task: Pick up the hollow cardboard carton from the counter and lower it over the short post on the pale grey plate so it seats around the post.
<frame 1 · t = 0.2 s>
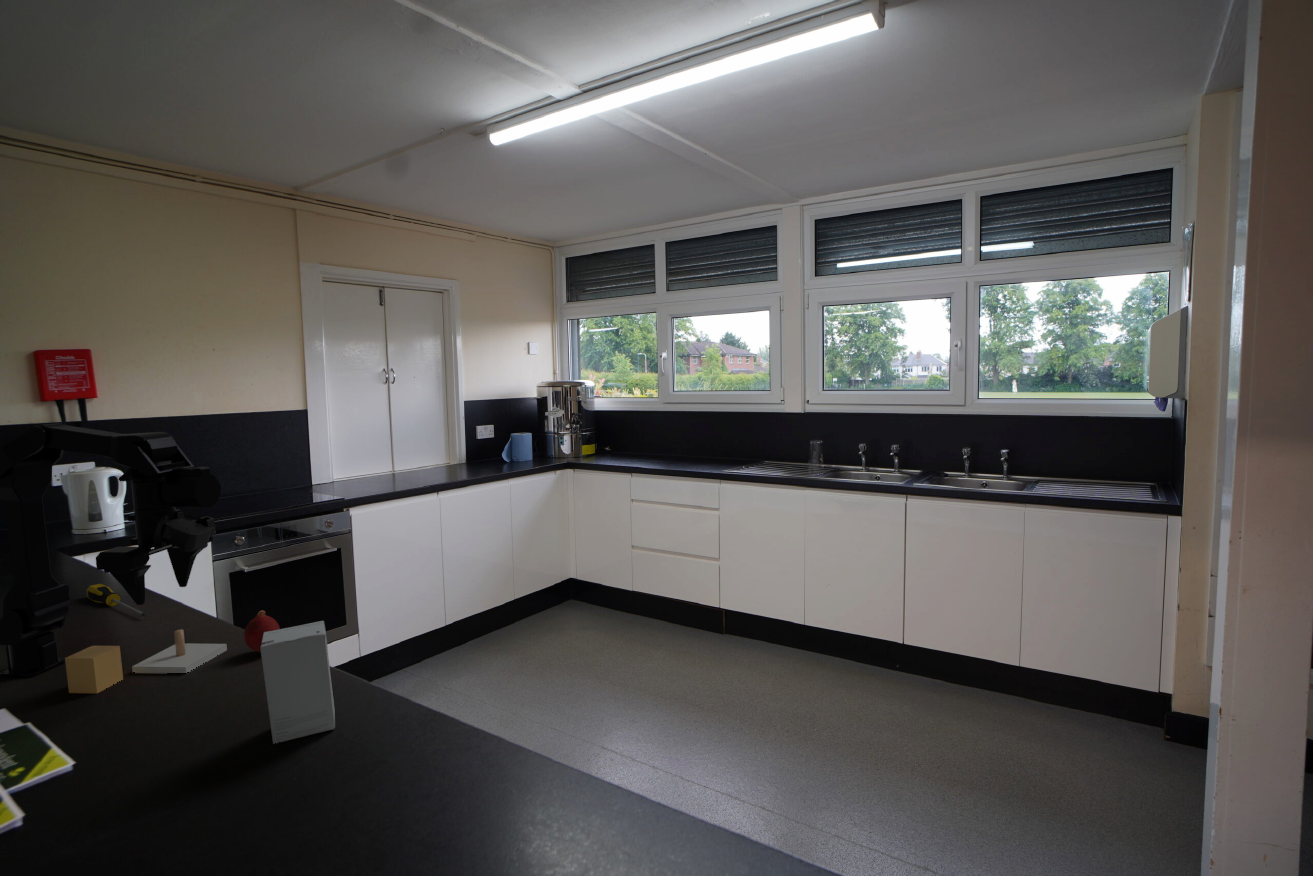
hand: (162, 595, 117), 14 cm above the countertop, tool pointing down, fingers open, 9 cm apart
screwdriver: (119, 609, 154), on the countertop
cardboard carton: (96, 686, 114), on the countertop
skincare box: (303, 730, 99), on the countertop
onion: (263, 653, 127), on the countertop
post plate: (181, 661, 124), on the countertop
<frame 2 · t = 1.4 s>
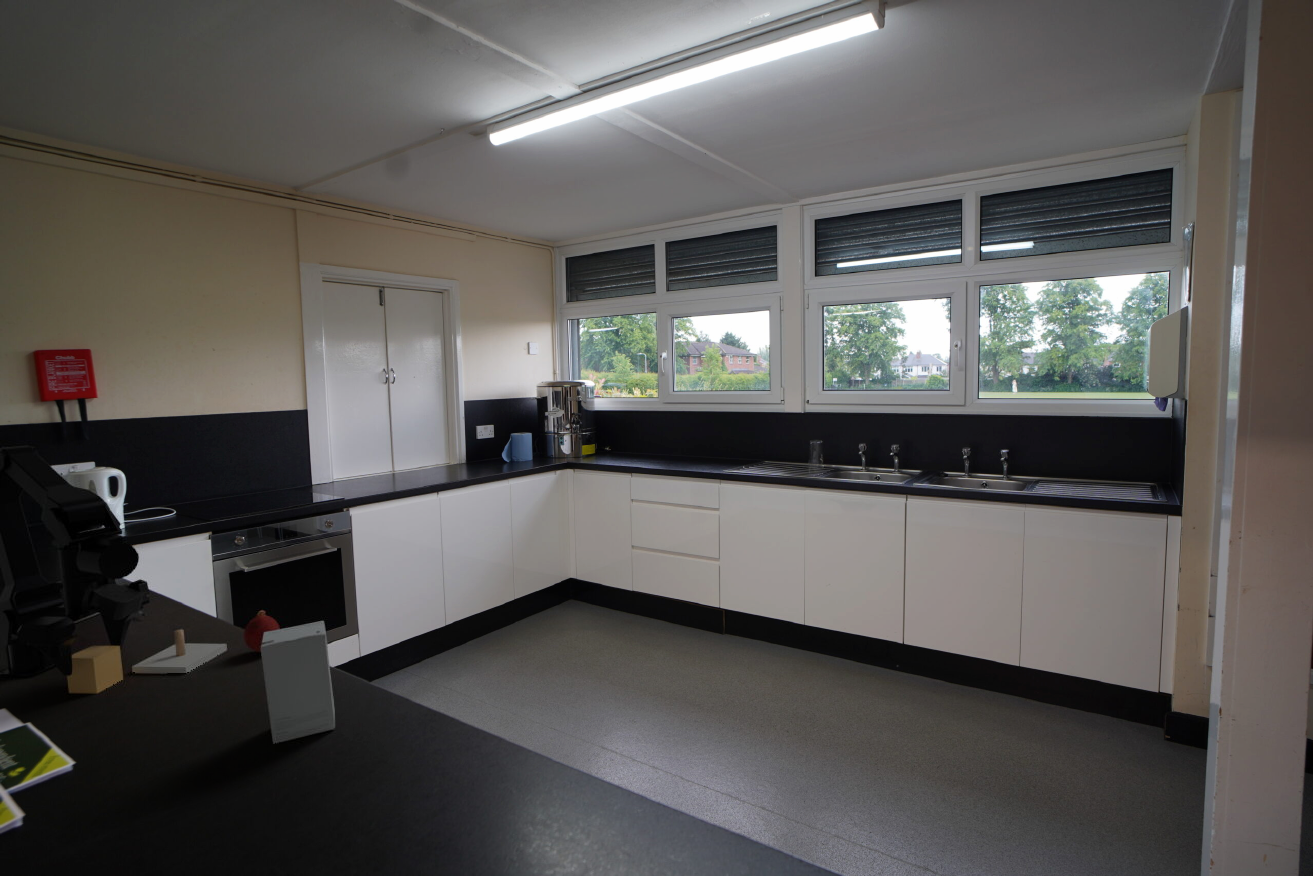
hand: (93, 663, 114), 4 cm above the countertop, tool pointing down, fingers open, 9 cm apart
nothing on the countertop moved.
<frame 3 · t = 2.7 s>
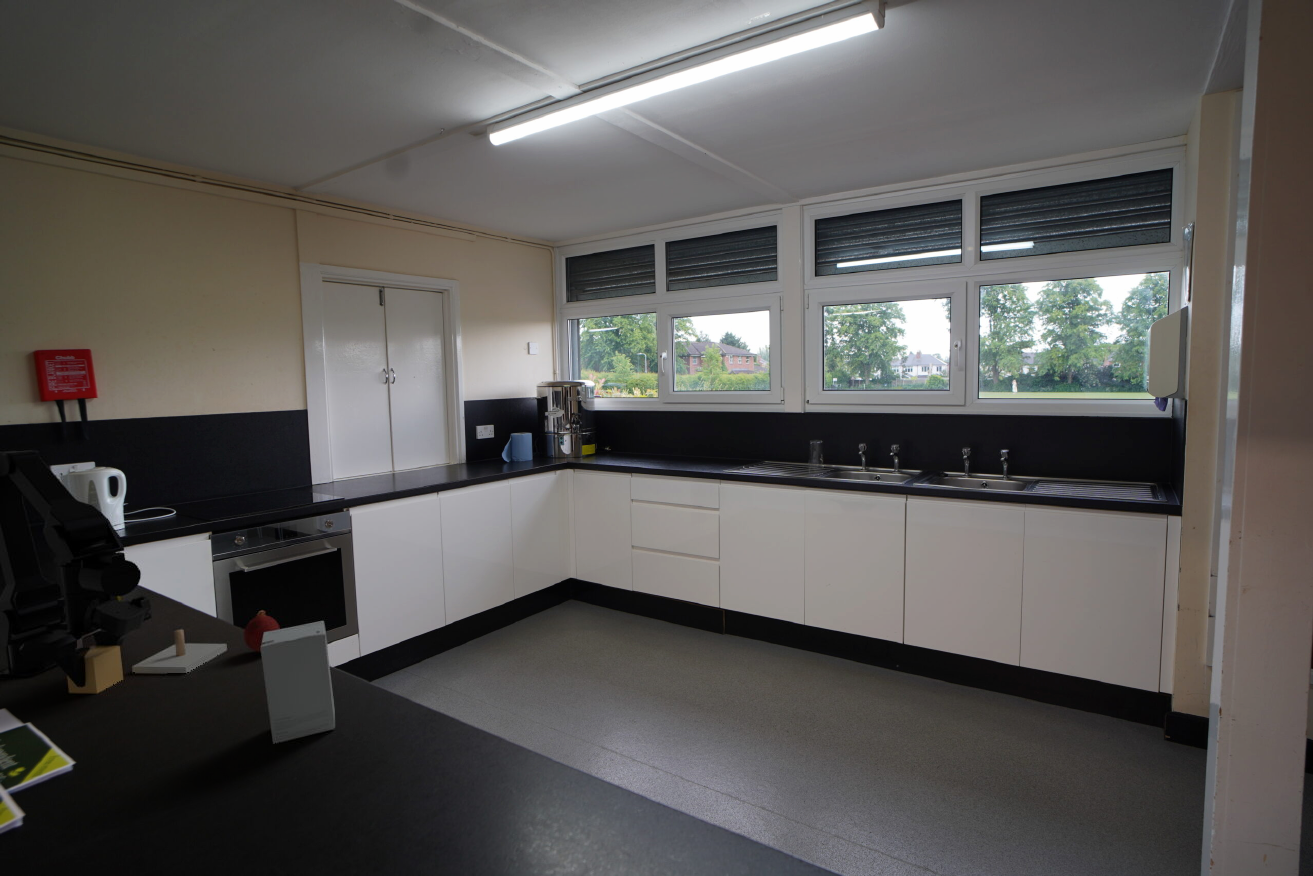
hand: (95, 679, 114), 1 cm above the countertop, tool pointing down, fingers closed on cardboard carton, 5 cm apart
cardboard carton: (96, 686, 114), on the countertop, touching gripper
everything else where it was.
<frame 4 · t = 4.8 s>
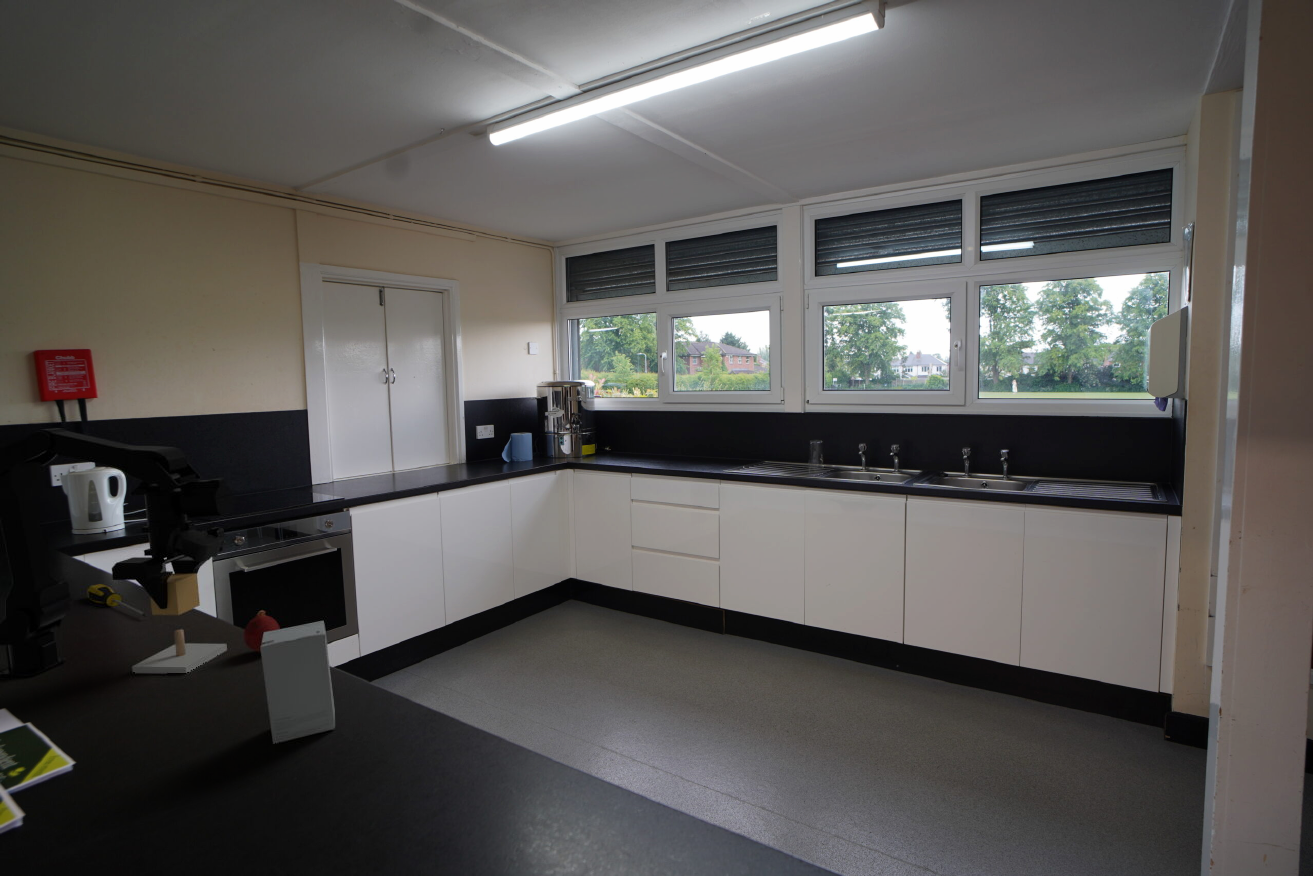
hand: (175, 603, 122), 11 cm above the countertop, tool pointing down, fingers closed on cardboard carton, 5 cm apart
cardboard carton: (176, 610, 123), point 10 cm above the countertop, touching gripper
everything else where it was.
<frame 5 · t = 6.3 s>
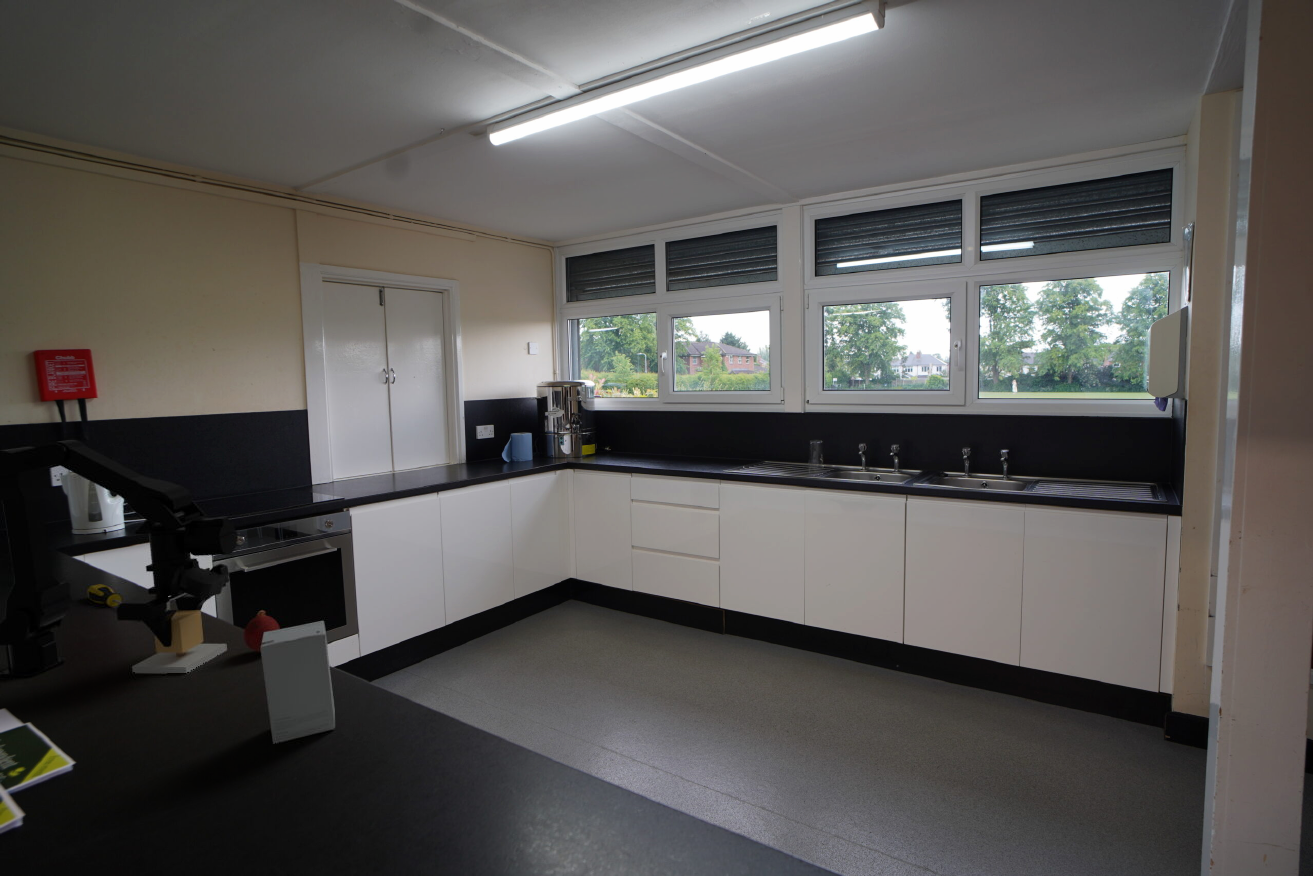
hand: (179, 640, 123), 4 cm above the countertop, tool pointing down, fingers closed on cardboard carton, 5 cm apart
cardboard carton: (180, 647, 123), point 3 cm above the countertop, touching gripper
everything else where it was.
when the fingers open (4 cm above the countertop, at t = 7.1 s): cardboard carton drops 1 cm, resting on post plate.
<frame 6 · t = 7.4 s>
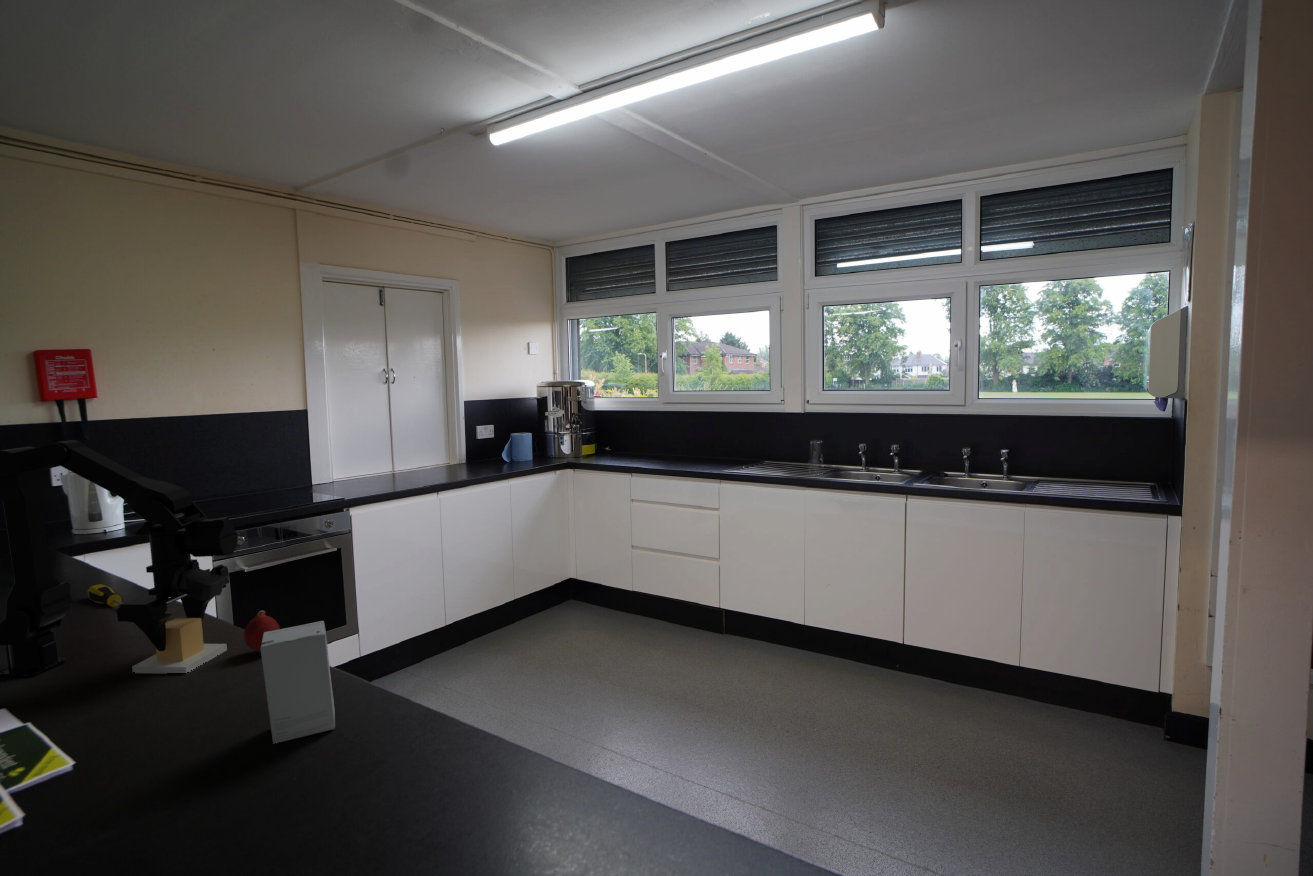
hand: (179, 641, 123), 4 cm above the countertop, tool pointing down, fingers open, 8 cm apart
cardboard carton: (181, 654, 123), point 1 cm above the countertop, touching post plate
everything else where it was.
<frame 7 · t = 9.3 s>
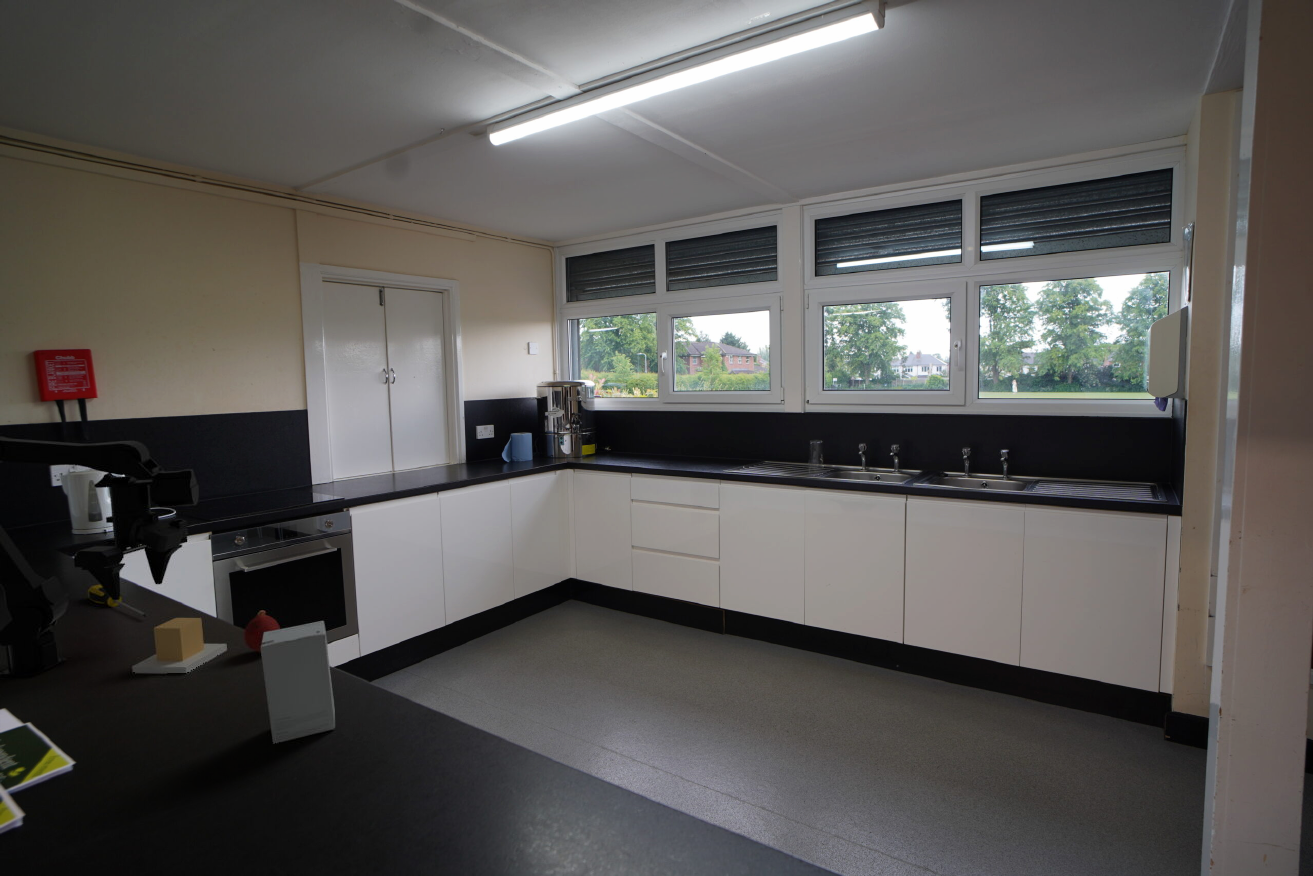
hand: (138, 591, 127), 12 cm above the countertop, tool pointing down, fingers open, 9 cm apart
nothing on the countertop moved.
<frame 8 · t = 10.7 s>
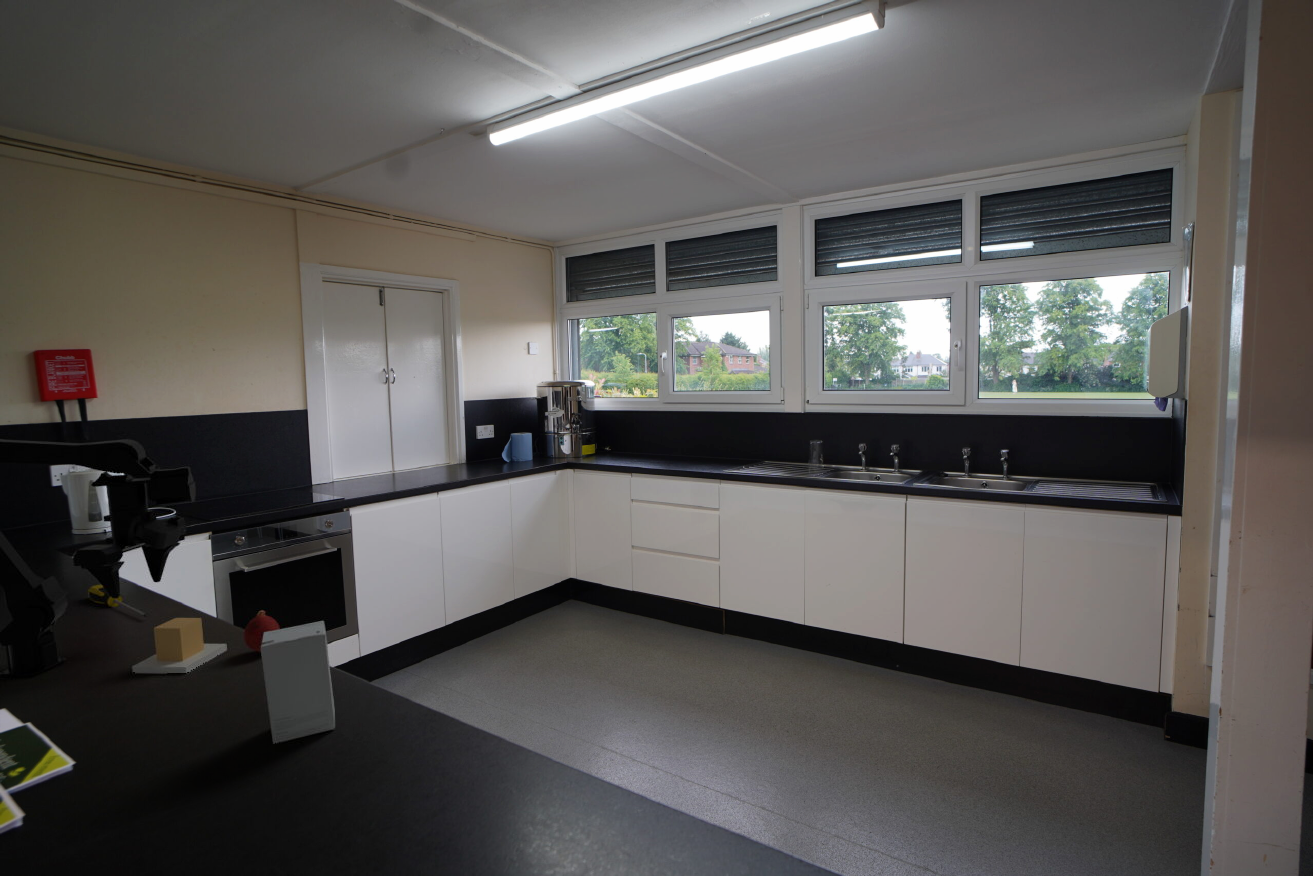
hand: (137, 589, 127), 12 cm above the countertop, tool pointing down, fingers open, 9 cm apart
nothing on the countertop moved.
at the end: cardboard carton 0.0 cm off-centre on the post plate, point 1.2 cm above the post plate's base; cardboard carton tilted 0°; the gripper is holding nothing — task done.
